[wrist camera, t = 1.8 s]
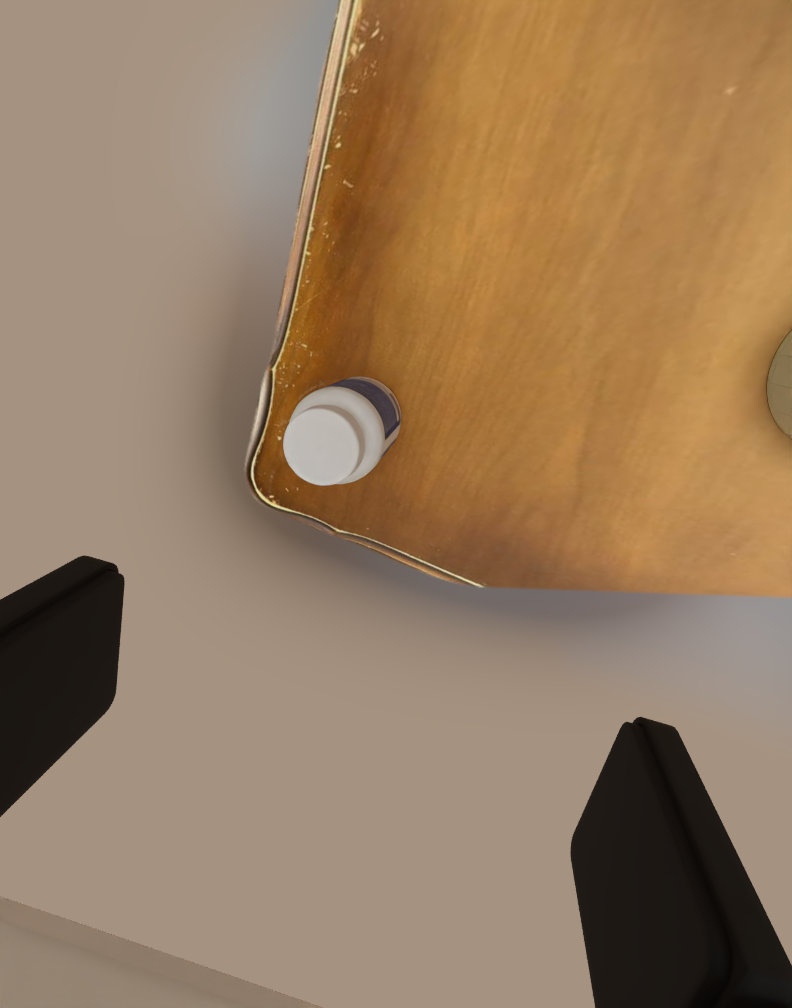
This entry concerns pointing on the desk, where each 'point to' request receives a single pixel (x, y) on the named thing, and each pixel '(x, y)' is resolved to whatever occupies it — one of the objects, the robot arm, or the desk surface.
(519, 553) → the desk surface
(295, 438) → the pill bottle
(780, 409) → the open cylindrical container
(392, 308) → the desk surface
